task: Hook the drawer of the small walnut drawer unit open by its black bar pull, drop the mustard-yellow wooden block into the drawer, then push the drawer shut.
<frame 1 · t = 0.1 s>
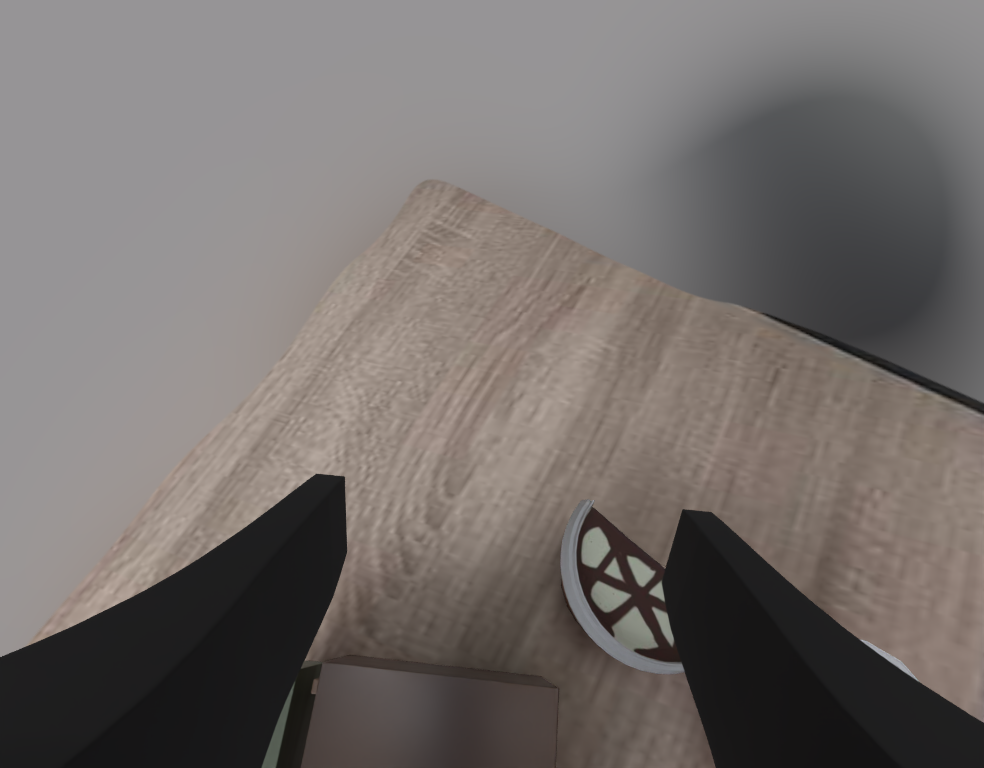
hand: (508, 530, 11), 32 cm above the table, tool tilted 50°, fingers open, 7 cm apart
plastic cup: (747, 715, 38), on the table
cabinet: (433, 764, 36), on the table
food container: (597, 608, 41), on the table
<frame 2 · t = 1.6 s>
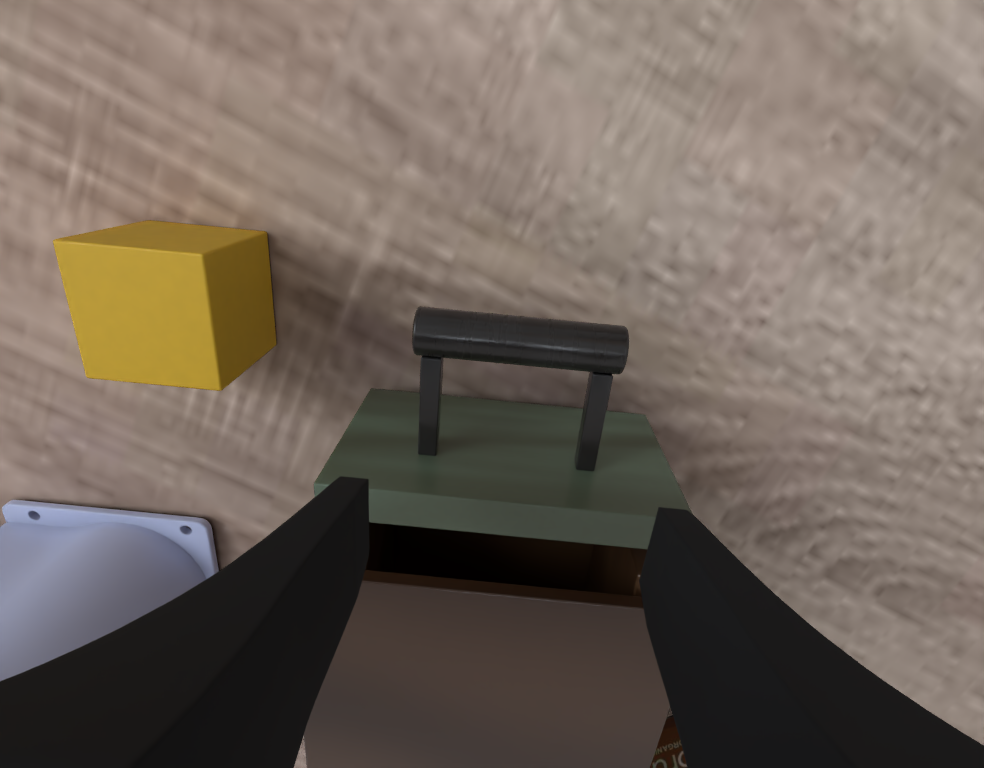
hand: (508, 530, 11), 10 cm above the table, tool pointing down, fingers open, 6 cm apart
drawer: (495, 542, 20), point 4 cm above the table, slide at 1.5 cm
cabinet: (488, 575, 26), on the table
block: (215, 285, 20), on the table
food container: (665, 739, 30), on the table
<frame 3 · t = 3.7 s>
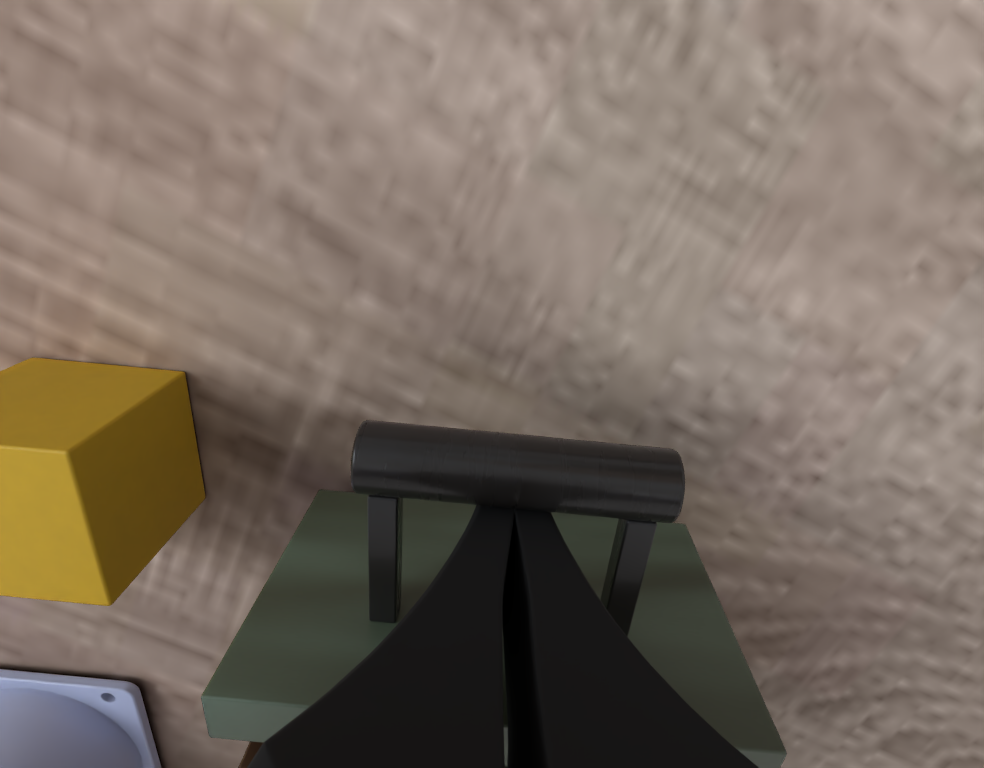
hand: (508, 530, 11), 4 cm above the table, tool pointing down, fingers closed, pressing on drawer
drawer: (484, 707, 14), point 4 cm above the table, slide at 4.0 cm, touching gripper
block: (124, 431, 16), on the table
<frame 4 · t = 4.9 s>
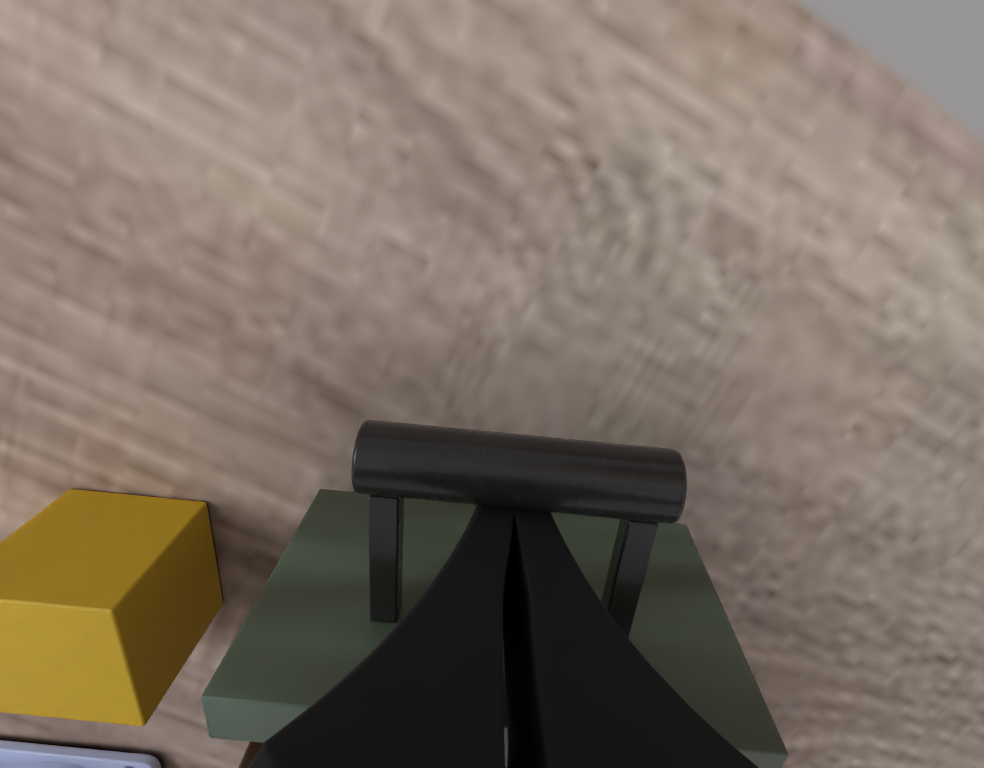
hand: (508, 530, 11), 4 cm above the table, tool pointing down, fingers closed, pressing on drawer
drawer: (485, 708, 14), point 4 cm above the table, slide at 8.5 cm, touching gripper
block: (151, 548, 18), on the table
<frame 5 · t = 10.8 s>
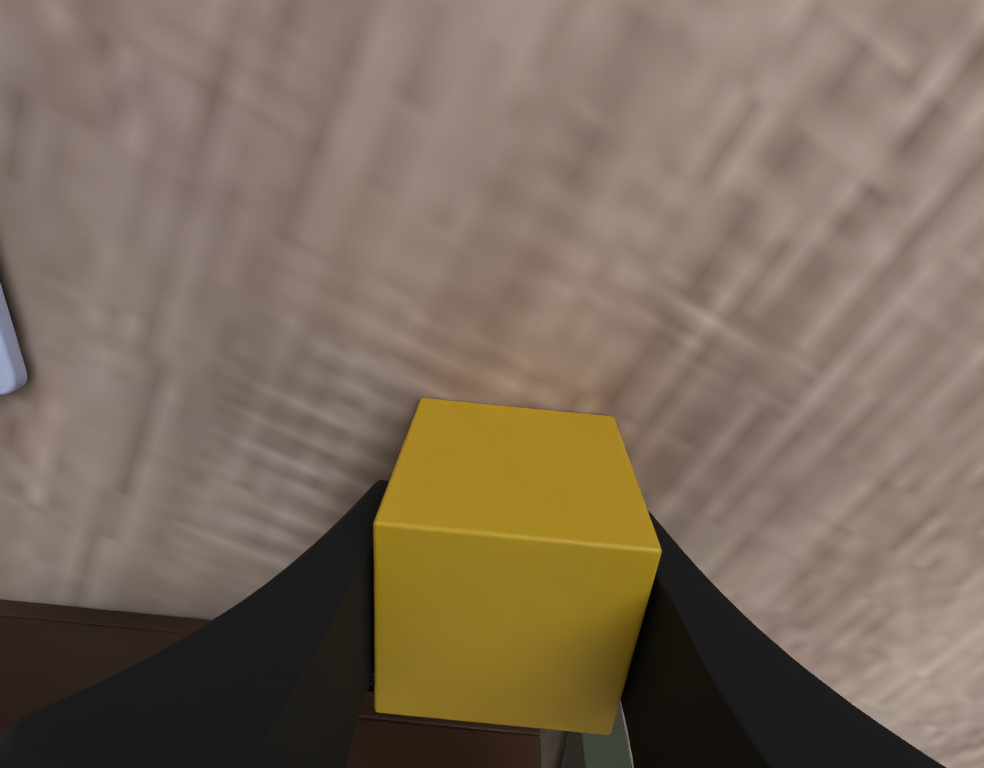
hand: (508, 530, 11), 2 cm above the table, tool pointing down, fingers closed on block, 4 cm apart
cabinet: (83, 736, 18), on the table
block: (507, 486, 13), on the table, touching gripper
when the fingers open (6 cm above the table, at t = 15.0 s): block drops 3 cm, resting on drawer.
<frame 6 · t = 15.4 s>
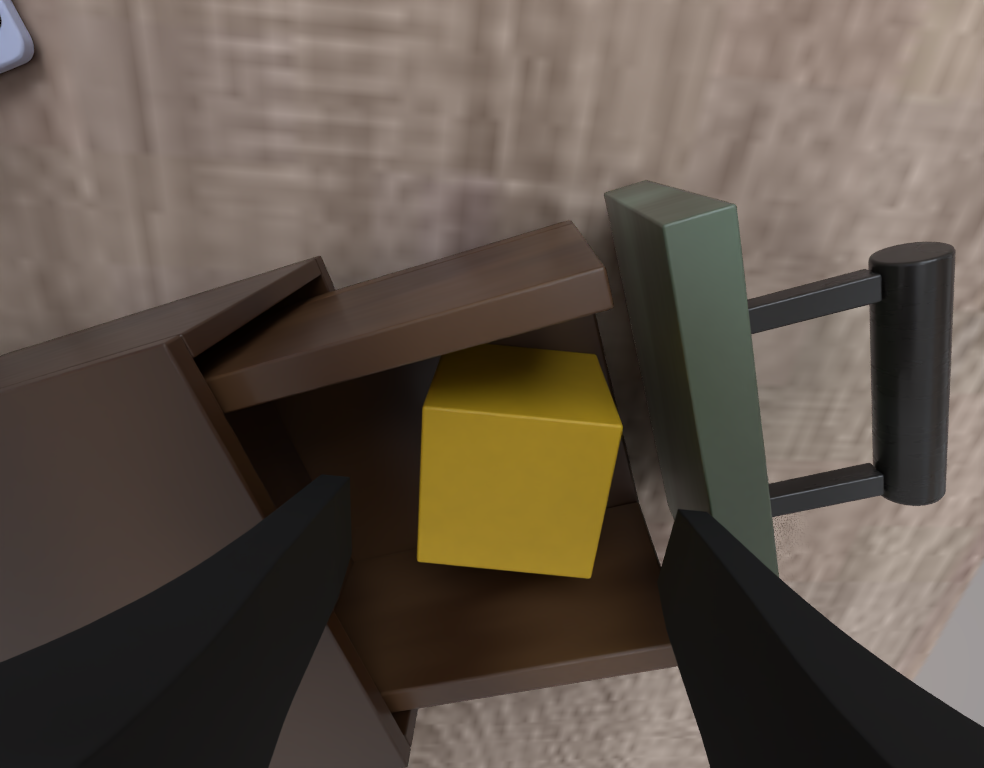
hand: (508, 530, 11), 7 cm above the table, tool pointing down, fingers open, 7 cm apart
drawer: (550, 443, 14), point 4 cm above the table, slide at 8.5 cm, touching block, gripper
cabinet: (216, 465, 20), on the table
block: (513, 413, 16), point 2 cm above the table, touching drawer
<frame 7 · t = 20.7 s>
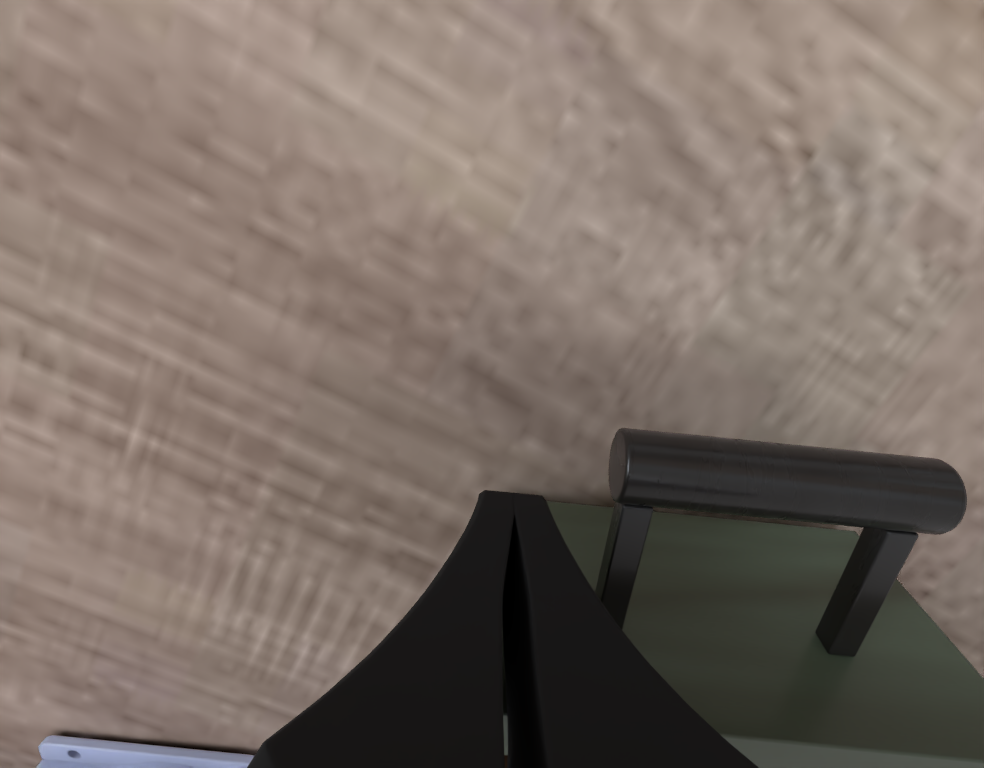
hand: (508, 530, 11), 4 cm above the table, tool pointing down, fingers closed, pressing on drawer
drawer: (665, 717, 14), point 4 cm above the table, slide at 8.2 cm, touching block, gripper
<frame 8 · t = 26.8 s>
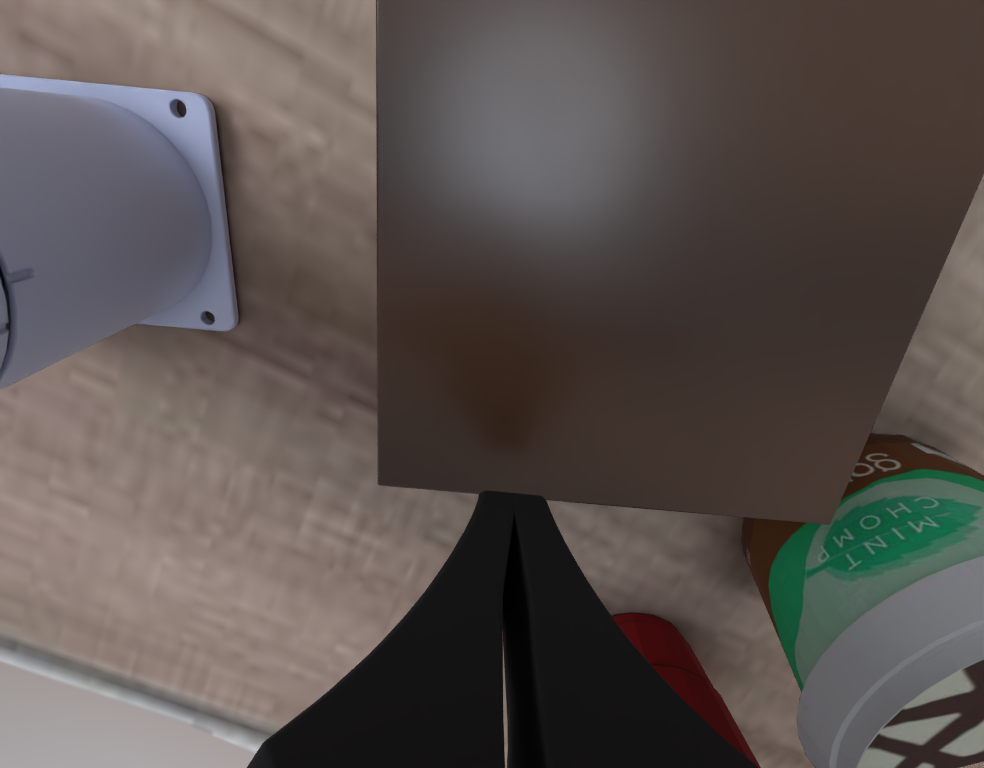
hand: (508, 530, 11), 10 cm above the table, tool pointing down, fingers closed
plastic cup: (624, 650, 28), on the table
cabinet: (602, 196, 18), on the table
food container: (808, 485, 23), on the table
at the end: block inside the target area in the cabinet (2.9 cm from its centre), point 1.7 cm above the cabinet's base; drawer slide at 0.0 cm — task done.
